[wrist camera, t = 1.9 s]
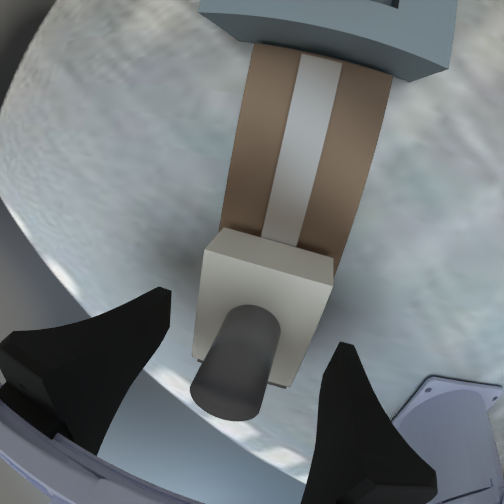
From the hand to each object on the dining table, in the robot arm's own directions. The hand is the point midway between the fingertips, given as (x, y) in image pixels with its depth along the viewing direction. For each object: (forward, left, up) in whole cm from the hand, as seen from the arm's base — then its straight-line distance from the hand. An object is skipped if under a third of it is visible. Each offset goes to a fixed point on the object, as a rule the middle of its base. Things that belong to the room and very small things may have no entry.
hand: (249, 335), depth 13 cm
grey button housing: (+15, 0, -5) cm, 16 cm away
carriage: (0, 0, -3) cm, 3 cm away
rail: (+3, 0, -5) cm, 6 cm away
